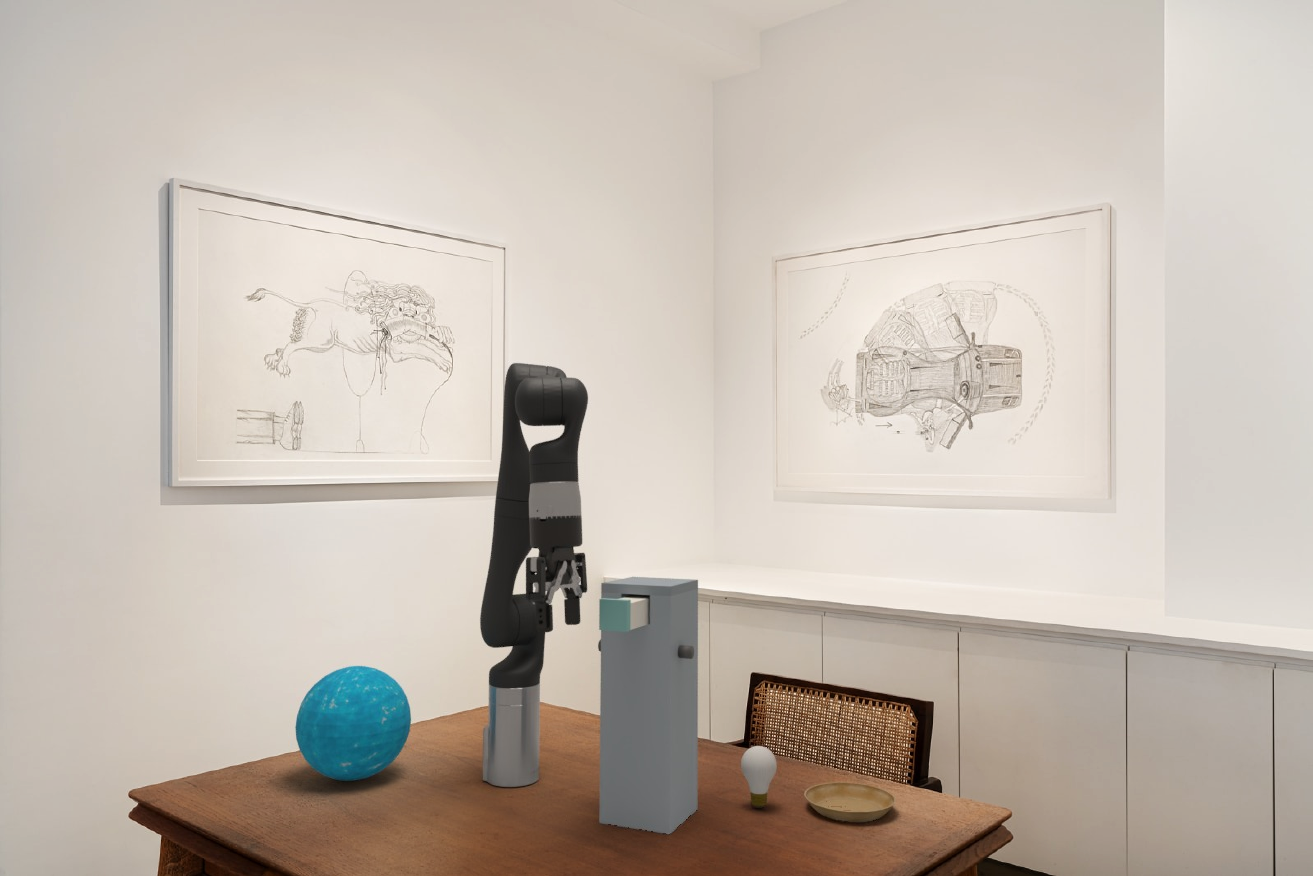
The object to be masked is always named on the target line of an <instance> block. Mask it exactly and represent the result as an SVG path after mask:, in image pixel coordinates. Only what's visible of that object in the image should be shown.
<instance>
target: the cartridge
mask: <svg viewBox="0 0 1313 876" xmlns="http://www.w3.org/2000/svg"><path fill="white" fill-rule="evenodd" d="M598 602H599V610H598V611H599V615H598V617H599V619H598V625H599V626H598V628H599V629H598V630H599V631H601V630H607V631H621V632H628V631H630V630H632V629H635V628H638V627H641V626H644V625H647V624H650V595H638V594H636V595H632V596H628V597H624V598H620V599H609V598H602V599H601V598H599V601H598Z"/></svg>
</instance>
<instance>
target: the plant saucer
mask: <svg viewBox="0 0 1313 876" xmlns="http://www.w3.org/2000/svg"><path fill="white" fill-rule="evenodd" d="M803 795H804V798H805V799H806V801H807V802H808V804H809V805H810V806H811V807H812V809H814V810H815V811H816V812H817V813H818V814H819V813H820V814H819V815H821V816H823V817H825V816H826V817H825V818H827V817H828V819H830V818H831V819H830V820H834V819H837V820H836V821H838V820H842V821H841V822H844V821H850V822H849V823H868V821H869V822H874V821H877V820H879V819H881V818H882V817H884V816H885V815H886V814H888V812H889V811H890V810H891V809H892V808H893V806H894V805H895V804H896V802H897V800H896V797H895V795H894V794H892V793H891V792H889V791H888V790H886V789H884V788H880V787H878V786H875V785H870V784H867V783H866V784H865V783H858V782H850V781H849V782H847V781H837V782H834V781H833V782H832V781H831V782H824V783H819V784H814V785H812V786H810V787H808V788H807V789H805V791H804V794H803ZM826 801H827V802H826ZM828 806H829V807H828ZM831 806H842V808H840V807H831ZM845 806H846V807H845ZM843 810H851V811H843ZM876 819H877V820H876ZM873 820H874V821H873Z"/></svg>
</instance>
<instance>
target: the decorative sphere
mask: <svg viewBox="0 0 1313 876" xmlns="http://www.w3.org/2000/svg"><path fill="white" fill-rule="evenodd" d="M301 701H302V702H301V703H300V706H299V709H298V712H297V716H296V720H295V721H296V722H295V726H294V727H295V738H296V742H297V746H298V749H299V751H300V752H301V754H302V757H303V759H304V760H305V761H306V763H308V764H309V766H310V767H311V768H312V769H314V770H315V771H316V772H317V773H319V774H321V775H322V776H323V777H328V778H330V779H334V780H335V781H336V780H337V781H341V782H342V781H345V782H346V781H347V782H348V781H359V780H365V779H368V778H370V777H372V776H374V775H376V774H378V773H380V772H382V771H383V770H385V769H386V768H387V767H388V766H390V765H391V764H392V763H393V762H394V761H395V760H396V759H397V757H398V756H399V755H400V753H401V752H402V750H403V748H404V746H405V745H406V744H407V741H408V738H409V734H410V730H411V725H412V724H411V723H412V717H411V716H412V715H411V707H410V706H411V705H410V704H409V700H408V696H407V694H406V693H405V691H404V689H403V688H402V686H401V685H400V684H399V683H398V682H397V681H396V679H395V678H393V677H392V676H390V675H389V674H388V673H386V672H384V671H383V670H379V669H378V668H376V667H372V666H371V667H370V666H365V665H352V666H351V665H350V666H346V667H343V668H339V669H336V670H333V671H332V672H330V673H327V674H325V675H324V676H323V677H321V679H319V680H318V681H317V682H316V683H314V684H313V686H312V687H311V688H310V689H309V690H308V692H306V694H305V696H304V698H303V700H301Z"/></svg>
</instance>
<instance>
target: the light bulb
mask: <svg viewBox="0 0 1313 876" xmlns="http://www.w3.org/2000/svg"><path fill="white" fill-rule="evenodd" d="M740 766H741V772H742V774H743V775H744V777H745V779H746V781H747V784H748V787H749V791H750V803H751V804H752V805H753V806H754V807H755V808H756V809H762V808H763V807H764V806H766V805H767V804H768V803H767V802H768V792H769V791H768V790H769V787H770V784H771V781H772V779H773V778H774V777H775V774H776V773H777V759H776V756H775V754H774V753H773V751H772V750H770V749H769V748H767V747H765V746H762V745H755V746H754V745H753V746H752V747H750V748H748V749H747V750H746V751H745V752H744V753H743V755H742V757H741V761H740Z"/></svg>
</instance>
